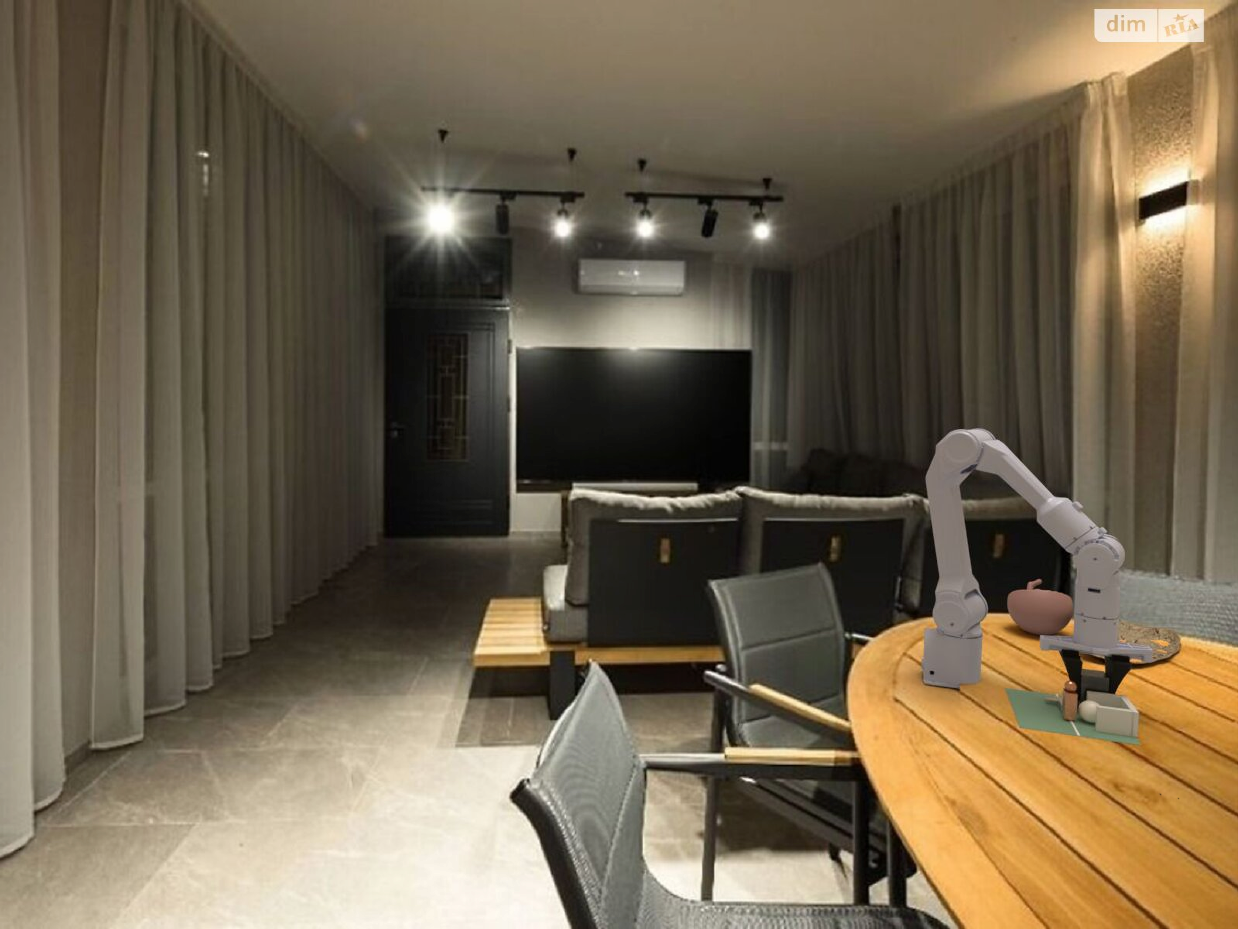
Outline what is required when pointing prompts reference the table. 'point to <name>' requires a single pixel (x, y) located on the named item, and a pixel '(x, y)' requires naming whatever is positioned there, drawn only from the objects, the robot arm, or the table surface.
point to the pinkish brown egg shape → (1040, 609)
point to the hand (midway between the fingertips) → (1091, 700)
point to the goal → (1114, 714)
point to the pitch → (1054, 717)
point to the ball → (1088, 711)
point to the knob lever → (1088, 682)
